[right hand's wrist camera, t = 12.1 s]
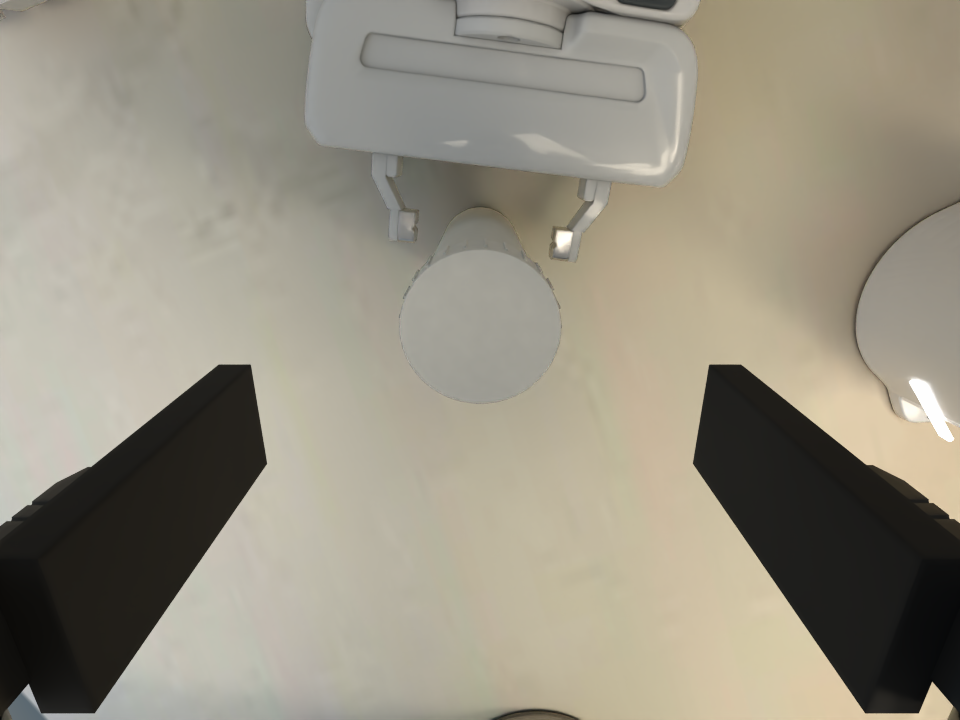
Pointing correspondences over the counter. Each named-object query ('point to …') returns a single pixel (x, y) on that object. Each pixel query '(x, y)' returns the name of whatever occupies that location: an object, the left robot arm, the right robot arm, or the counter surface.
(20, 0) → the toy
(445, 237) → the bottle
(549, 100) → the left robot arm
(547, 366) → the lid
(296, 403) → the counter surface
